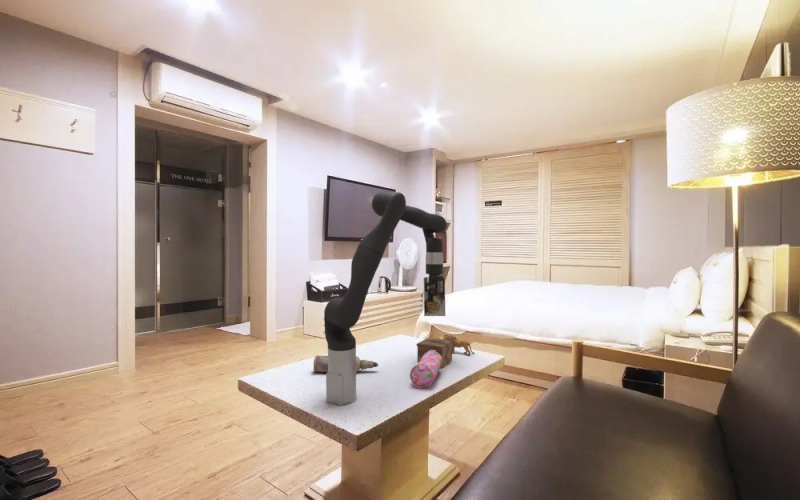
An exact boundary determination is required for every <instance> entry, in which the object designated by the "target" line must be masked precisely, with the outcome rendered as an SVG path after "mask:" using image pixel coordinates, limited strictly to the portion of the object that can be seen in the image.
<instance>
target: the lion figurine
mask: <svg viewBox="0 0 800 500" xmlns="http://www.w3.org/2000/svg"><path fill="white" fill-rule="evenodd" d="M443 339H447V340H453V342H452V355H453V354H455V348H458V349H461V348H463V349H464V352H463V354H465V355H466V354H467V356H468V357H470V356H471V354H472V355H476V353H475V352H473V350H472V347H471V343H470V342H469V341H468V340H466V339H458V338H457V337H456V336H453V335H452V334H450V333H445V334H443Z"/></svg>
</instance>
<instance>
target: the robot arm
mask: <svg viewBox="0 0 800 500" xmlns="http://www.w3.org/2000/svg"><path fill="white" fill-rule="evenodd" d="M371 207H372V210H373V212H374V213H375V214H376V216H379V217H381V219H380V220H379V222H378V224H377V225H376V226H375V227H374V228H372V230H371V231H370V232H369V233H367V235H365V236H364V237H363V238H362V239H361V241H360V242H359V244H358V245H357V248H356V249H355V252H354V254H353V256H352V257H353V258H352V260H351V266H350V272H351V273H350V282H349V286H348V288H347V290H346V293H345V295H344V296H343V298H341V297H335V298H332V299H331V300H329V301H328V302H327V304H325V308H324V314H323V315H324V316H323V322H324V336H325V340H326V343H327V356H328V372H325V377H326V378H325V383H326V385H325V386H326V390H325V391H326V392H325V393H326V394H325V395H326V403H329V404H330V403H331V404H333V405H337V406H343V405H346V404H350V403H353V402H354V401H356V399H357V373H356V356H357V345H356V344H357V339H356V337H355V336H354V335H353V334H352V332H351V328H353V327H354V326H355V325H356V324H357V323H358V321H359V320H360V317H361V315H362V311H363V308H364V304H365V303H366V302H365V301H366V298H367V295H368V292H369V290H370V287H371V286H372V285H371V284H372V282H373V279H374V277H375V275H376V272H377V271H378V268H379V266H380V264H381V261H382V258H383V257H384V256H383V255H384V254H385V251H386V249H387V246H388V244H389V242H390V240H391V238H392V235H393V233H394V231H395V229H396V228H397V226H398V224H399V222H400V221H402V222H405V223H407V224H410V225H412V226H415V227H417V228H419V229H421V230H422V232H423V236H424V240H425V252H426V253H425V274H426V275H428V277H429V278H425V292H427V293H428V302H433V291H434V289H435V288H436V283H434V279H435V278H438V277H444V275H442V274H444V253H443V240H442V239H440V238H437V237H436V236H435V235H434V234H440V233H443V232H445V231H446V229H447V226H448V223H447V221H446V218H444V217H443V216H442V215H439V214H434V213H429V212H428V211H425V210H423V209H421V208H418V207H415V206H410V205H407V200H406V197H405V195H404V194H403V193H402V192H399V191H380V192H378V193H376V194H375V195H374V196H373V198H372V201H371ZM432 283H434V285H433V286H432ZM427 286H429V287H428V289H427ZM431 289H432V290H431Z"/></svg>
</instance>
